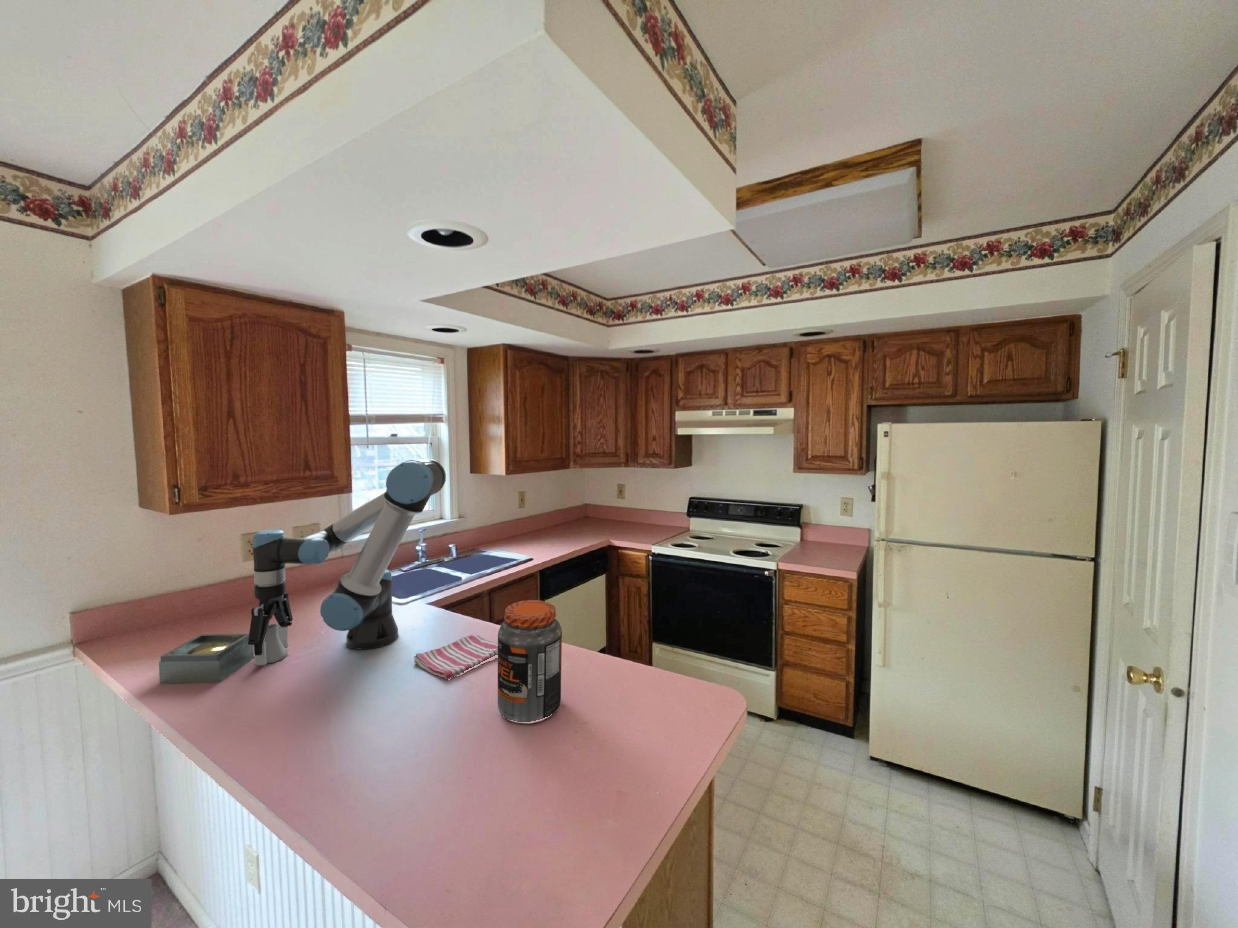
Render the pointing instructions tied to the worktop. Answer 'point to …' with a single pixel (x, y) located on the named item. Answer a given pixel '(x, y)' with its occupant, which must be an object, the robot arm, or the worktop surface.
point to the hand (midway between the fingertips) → (272, 655)
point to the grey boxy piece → (206, 659)
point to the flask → (274, 645)
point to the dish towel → (457, 656)
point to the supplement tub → (529, 661)
